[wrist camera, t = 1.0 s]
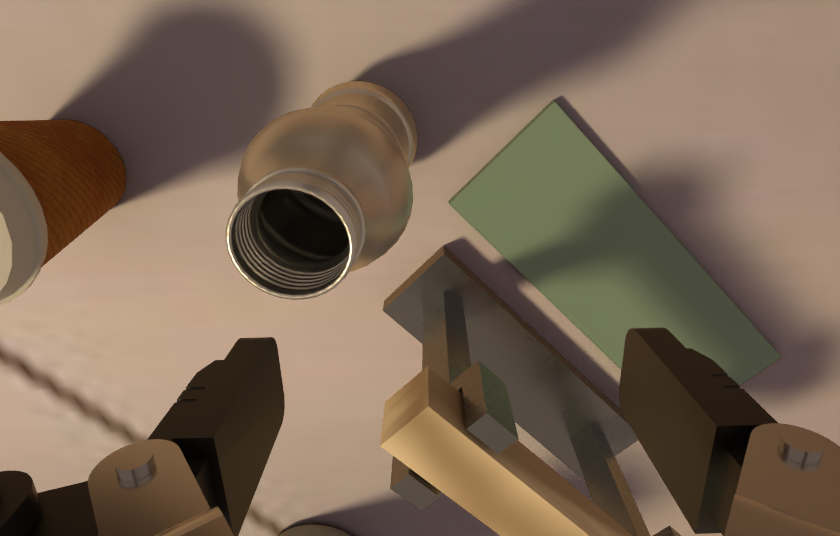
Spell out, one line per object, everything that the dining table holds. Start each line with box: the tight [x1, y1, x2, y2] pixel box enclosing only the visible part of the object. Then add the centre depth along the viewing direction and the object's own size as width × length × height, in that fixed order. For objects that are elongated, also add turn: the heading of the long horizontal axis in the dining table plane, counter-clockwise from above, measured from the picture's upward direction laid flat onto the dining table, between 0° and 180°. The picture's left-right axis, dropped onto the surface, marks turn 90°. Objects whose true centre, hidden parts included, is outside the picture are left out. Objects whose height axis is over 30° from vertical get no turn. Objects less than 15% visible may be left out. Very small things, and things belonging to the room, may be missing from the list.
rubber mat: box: [449, 100, 781, 385], centre depth 37 cm, size 9×26×1 cm, turn 46°
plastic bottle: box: [226, 81, 417, 300], centre depth 24 cm, size 6×7×20 cm
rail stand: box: [383, 246, 681, 536], centre depth 33 cm, size 6×22×16 cm, turn 46°
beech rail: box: [380, 366, 632, 536], centre depth 27 cm, size 3×22×3 cm, turn 46°
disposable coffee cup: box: [0, 120, 126, 305], centre depth 29 cm, size 10×10×12 cm
